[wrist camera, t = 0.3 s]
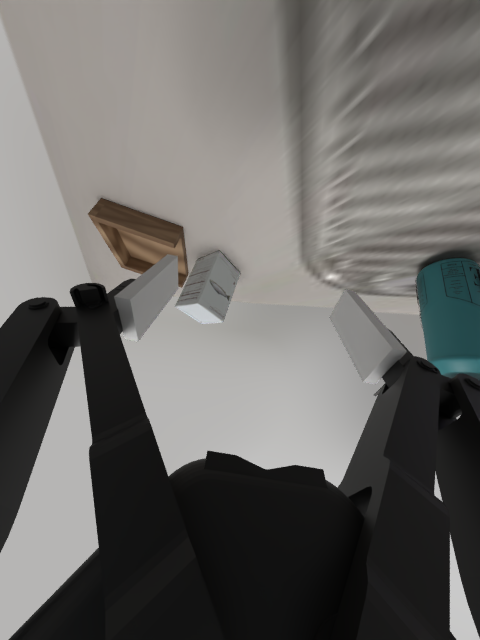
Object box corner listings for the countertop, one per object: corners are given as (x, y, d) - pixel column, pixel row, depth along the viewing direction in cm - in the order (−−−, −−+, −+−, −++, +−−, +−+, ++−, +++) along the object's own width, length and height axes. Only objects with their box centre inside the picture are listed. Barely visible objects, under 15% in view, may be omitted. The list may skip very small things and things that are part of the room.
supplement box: (241, 272, 43) (224, 323, 38) (217, 278, 47) (200, 324, 43) (220, 248, 38) (197, 303, 33) (196, 258, 42) (173, 307, 38)
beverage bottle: (402, 272, 31) (413, 401, 24) (445, 241, 25) (479, 401, 17) (443, 283, 31) (467, 417, 23) (496, 254, 25) (553, 423, 17)
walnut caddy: (101, 198, 34) (87, 213, 33) (182, 227, 35) (173, 243, 34) (130, 254, 48) (121, 267, 46) (188, 274, 49) (182, 287, 47)
